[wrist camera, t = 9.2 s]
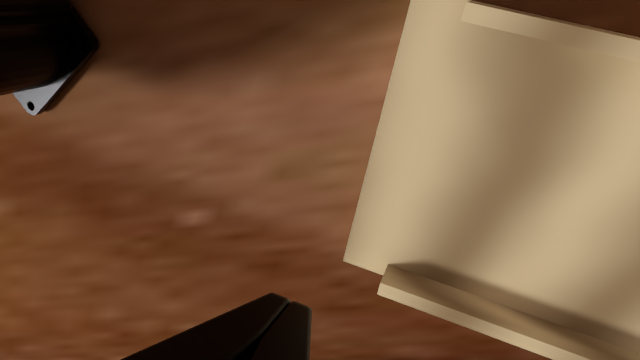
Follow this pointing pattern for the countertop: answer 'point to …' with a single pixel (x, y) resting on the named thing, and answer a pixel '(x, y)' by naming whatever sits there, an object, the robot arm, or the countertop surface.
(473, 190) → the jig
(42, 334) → the countertop surface
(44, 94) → the robot arm
